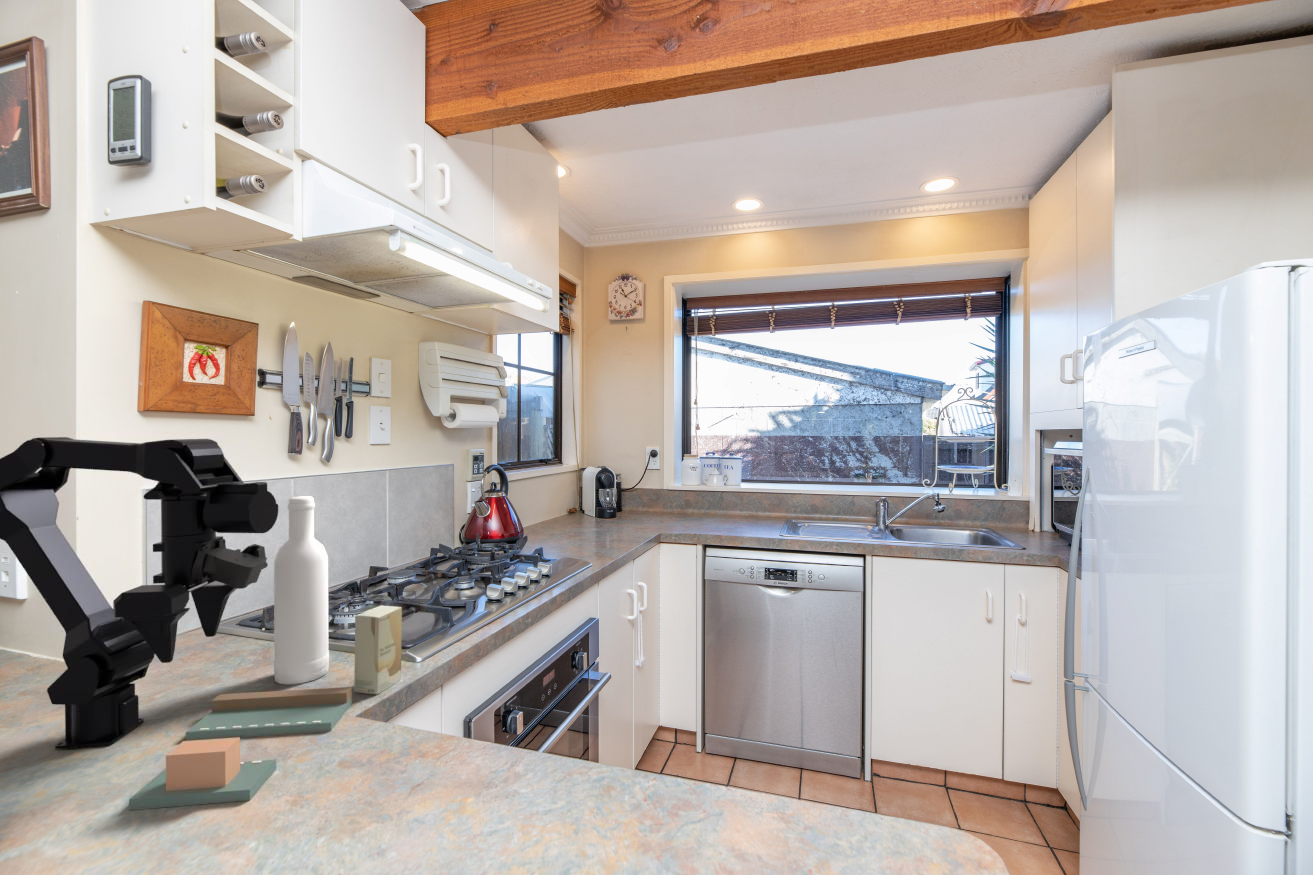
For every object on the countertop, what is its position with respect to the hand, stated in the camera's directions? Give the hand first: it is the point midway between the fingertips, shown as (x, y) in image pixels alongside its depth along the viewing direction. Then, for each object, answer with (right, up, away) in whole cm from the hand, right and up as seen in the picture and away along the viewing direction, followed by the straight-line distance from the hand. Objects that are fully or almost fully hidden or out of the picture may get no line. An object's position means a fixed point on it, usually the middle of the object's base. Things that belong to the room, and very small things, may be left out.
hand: (190, 648), depth 78 cm
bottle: (+3, -12, +20) cm, 23 cm away
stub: (+11, -12, -11) cm, 20 cm away
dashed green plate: (+8, -12, +5) cm, 15 cm away
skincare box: (+18, -12, +16) cm, 27 cm away
